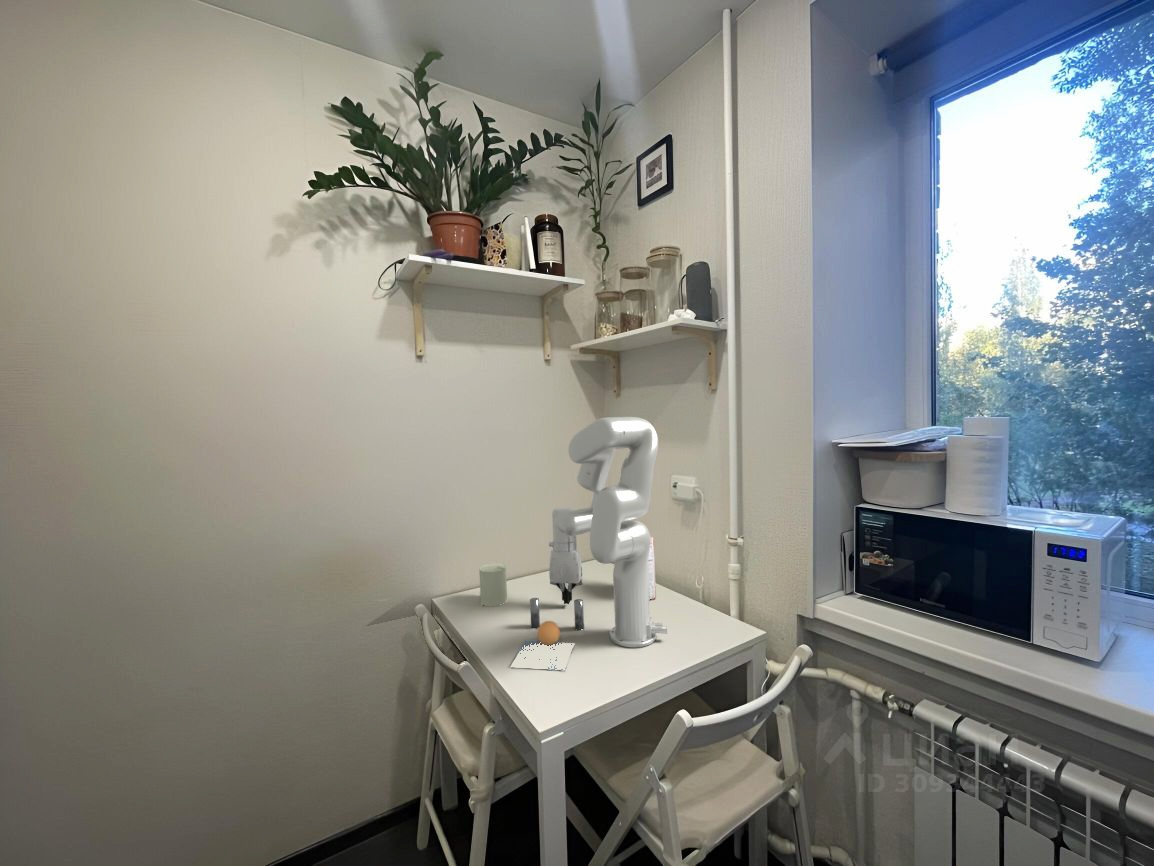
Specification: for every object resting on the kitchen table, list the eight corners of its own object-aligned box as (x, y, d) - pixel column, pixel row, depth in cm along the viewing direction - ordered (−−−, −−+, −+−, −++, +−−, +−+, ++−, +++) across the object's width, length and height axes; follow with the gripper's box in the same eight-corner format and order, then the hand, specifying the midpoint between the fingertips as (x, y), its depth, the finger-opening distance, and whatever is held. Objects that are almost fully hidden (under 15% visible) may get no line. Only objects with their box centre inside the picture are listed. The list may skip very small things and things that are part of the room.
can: (502, 607, 148) (500, 570, 148) (475, 606, 150) (474, 570, 150) (511, 596, 157) (510, 562, 157) (486, 595, 159) (485, 561, 159)
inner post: (584, 626, 131) (583, 599, 131) (583, 630, 129) (582, 602, 129) (575, 626, 132) (574, 598, 132) (574, 630, 129) (573, 602, 129)
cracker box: (620, 589, 160) (617, 530, 160) (634, 586, 163) (632, 528, 162) (641, 602, 147) (638, 538, 147) (656, 599, 150) (654, 536, 150)
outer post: (540, 624, 133) (539, 597, 133) (538, 628, 131) (537, 601, 131) (532, 624, 134) (531, 597, 134) (529, 628, 131) (528, 601, 131)
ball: (557, 622, 119) (555, 647, 117) (563, 622, 124) (561, 646, 122) (535, 619, 120) (533, 644, 118) (542, 620, 126) (539, 643, 124)
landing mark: (575, 643, 121) (575, 642, 121) (565, 671, 107) (565, 670, 107) (525, 641, 124) (525, 640, 124) (508, 668, 110) (508, 667, 110)
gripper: (539, 548, 143) (541, 606, 144) (586, 549, 141) (588, 608, 141) (545, 542, 151) (547, 597, 151) (589, 543, 148) (591, 598, 148)
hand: (567, 602), depth 146 cm, fingers closed
